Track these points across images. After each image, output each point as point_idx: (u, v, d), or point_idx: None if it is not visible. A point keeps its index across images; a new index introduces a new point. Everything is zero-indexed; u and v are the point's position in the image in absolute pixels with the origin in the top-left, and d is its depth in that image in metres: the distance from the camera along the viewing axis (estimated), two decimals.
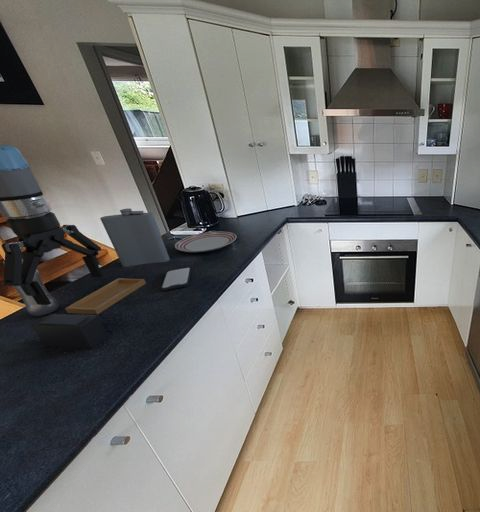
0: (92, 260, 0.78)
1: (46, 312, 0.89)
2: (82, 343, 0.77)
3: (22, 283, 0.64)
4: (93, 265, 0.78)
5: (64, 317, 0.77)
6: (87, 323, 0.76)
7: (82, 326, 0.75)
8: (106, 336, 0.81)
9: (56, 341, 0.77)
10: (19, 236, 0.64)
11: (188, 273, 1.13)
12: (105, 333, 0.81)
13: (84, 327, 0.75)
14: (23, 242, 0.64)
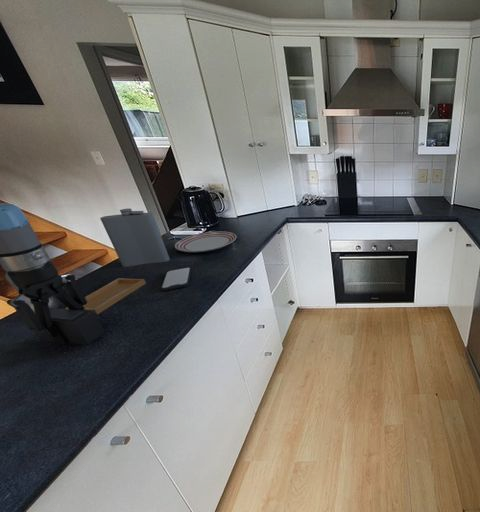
0: None
1: None
2: (77, 338, 0.76)
3: (45, 328, 0.72)
4: None
5: (59, 311, 0.76)
6: (83, 318, 0.75)
7: (78, 321, 0.74)
8: (102, 331, 0.80)
9: None
10: (19, 287, 0.67)
11: (188, 273, 1.13)
12: (101, 328, 0.80)
13: (80, 322, 0.74)
14: (24, 295, 0.67)
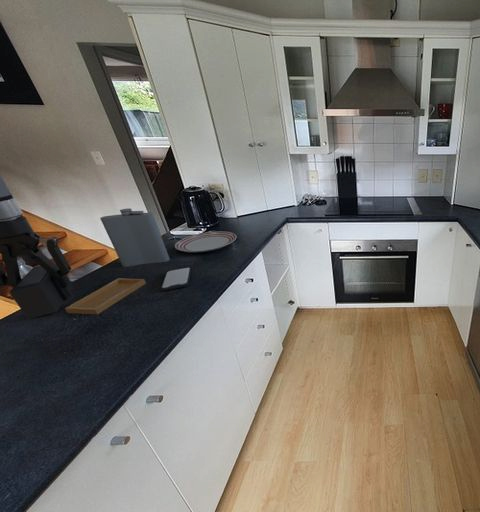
0: (53, 283, 0.71)
1: None
2: None
3: (10, 285, 0.68)
4: None
5: (42, 272, 0.71)
6: (23, 291, 0.65)
7: (14, 292, 0.64)
8: (52, 310, 0.69)
9: None
10: None
11: (188, 273, 1.13)
12: (51, 307, 0.69)
13: (17, 294, 0.65)
14: None
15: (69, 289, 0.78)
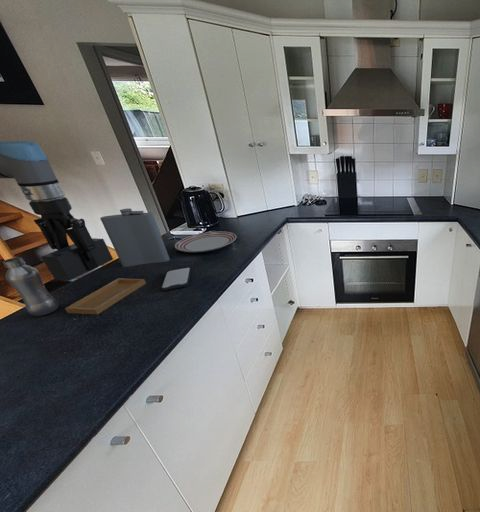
0: None
1: (46, 312, 0.89)
2: None
3: None
4: None
5: None
6: (48, 258, 0.80)
7: (43, 257, 0.80)
8: (67, 278, 0.83)
9: None
10: None
11: (188, 273, 1.13)
12: (66, 275, 0.83)
13: (45, 259, 0.81)
14: None
15: (104, 261, 0.93)
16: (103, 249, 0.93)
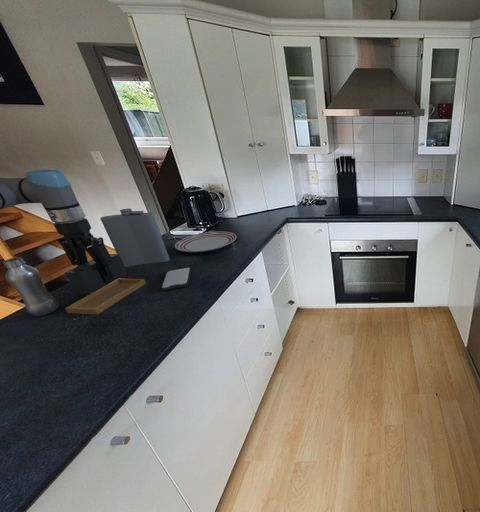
0: None
1: (46, 312, 0.89)
2: None
3: (79, 265, 0.94)
4: None
5: None
6: (70, 274, 0.88)
7: (66, 273, 0.88)
8: (88, 292, 0.91)
9: None
10: None
11: (188, 273, 1.13)
12: (87, 289, 0.90)
13: (68, 275, 0.88)
14: None
15: (120, 275, 1.01)
16: (118, 264, 1.00)
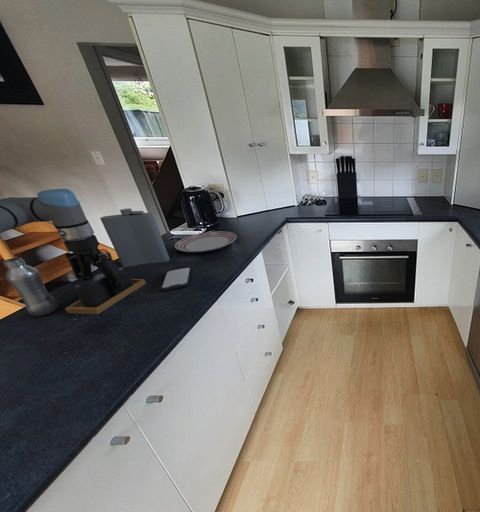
0: None
1: (46, 312, 0.89)
2: None
3: None
4: None
5: None
6: (79, 288, 0.90)
7: (75, 288, 0.90)
8: (95, 305, 0.93)
9: None
10: None
11: (188, 273, 1.13)
12: (94, 303, 0.93)
13: (77, 290, 0.91)
14: None
15: (126, 288, 1.03)
16: (125, 277, 1.03)
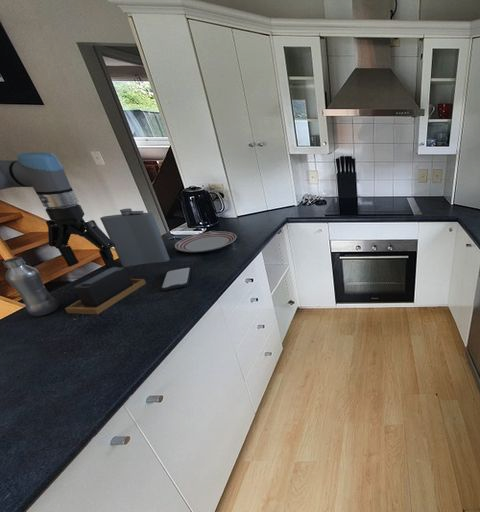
0: None
1: (46, 312, 0.89)
2: None
3: None
4: None
5: (105, 274, 0.97)
6: (79, 288, 0.90)
7: (75, 288, 0.90)
8: (95, 305, 0.93)
9: None
10: None
11: (188, 273, 1.13)
12: (94, 303, 0.93)
13: (77, 290, 0.91)
14: (56, 222, 0.87)
15: (126, 288, 1.03)
16: (125, 277, 1.03)
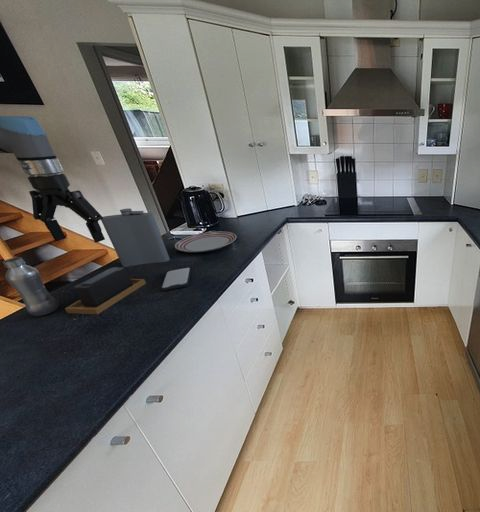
0: None
1: (46, 312, 0.89)
2: None
3: None
4: None
5: (105, 274, 0.97)
6: (79, 288, 0.90)
7: (75, 288, 0.90)
8: (95, 305, 0.93)
9: None
10: None
11: (188, 273, 1.13)
12: (94, 303, 0.93)
13: (77, 290, 0.91)
14: None
15: (126, 288, 1.03)
16: (125, 277, 1.03)
